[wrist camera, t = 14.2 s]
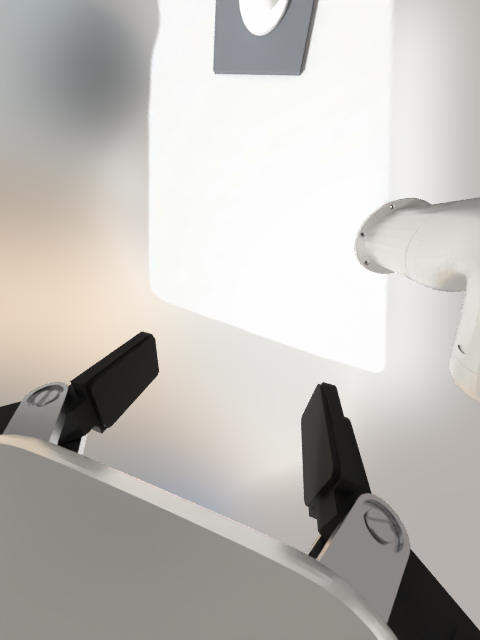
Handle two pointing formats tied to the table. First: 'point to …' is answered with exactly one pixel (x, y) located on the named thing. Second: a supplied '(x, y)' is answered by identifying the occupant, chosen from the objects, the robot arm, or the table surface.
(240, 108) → the table surface
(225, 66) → the mat
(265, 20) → the candle
